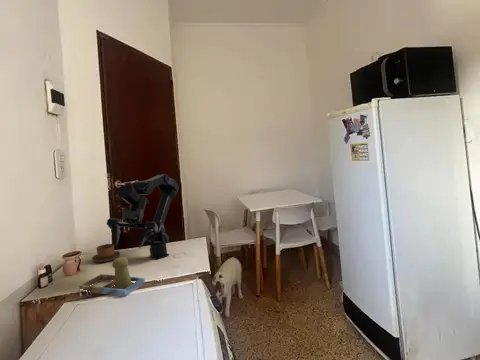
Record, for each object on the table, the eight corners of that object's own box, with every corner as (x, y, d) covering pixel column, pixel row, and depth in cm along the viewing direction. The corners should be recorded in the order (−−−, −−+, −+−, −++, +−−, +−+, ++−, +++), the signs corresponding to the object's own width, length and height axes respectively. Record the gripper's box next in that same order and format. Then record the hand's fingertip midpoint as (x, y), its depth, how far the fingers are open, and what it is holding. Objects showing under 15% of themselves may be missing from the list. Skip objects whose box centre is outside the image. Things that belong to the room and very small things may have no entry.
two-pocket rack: (79, 291, 121) (78, 285, 121) (101, 279, 131) (101, 274, 131) (125, 296, 114) (124, 290, 113) (145, 283, 123) (144, 277, 123)
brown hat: (93, 258, 159) (92, 245, 158) (120, 253, 163) (119, 240, 162) (91, 266, 148) (89, 252, 147) (120, 260, 151) (118, 247, 151)
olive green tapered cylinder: (130, 290, 118) (126, 260, 117) (113, 292, 117) (108, 262, 116) (134, 283, 124) (130, 254, 123) (117, 285, 123) (113, 256, 122)
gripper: (107, 198, 130) (95, 237, 122) (156, 202, 129) (147, 241, 122) (116, 210, 139) (105, 247, 132) (161, 214, 139) (153, 251, 131)
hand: (127, 246), depth 129 cm, fingers open, 9 cm apart
